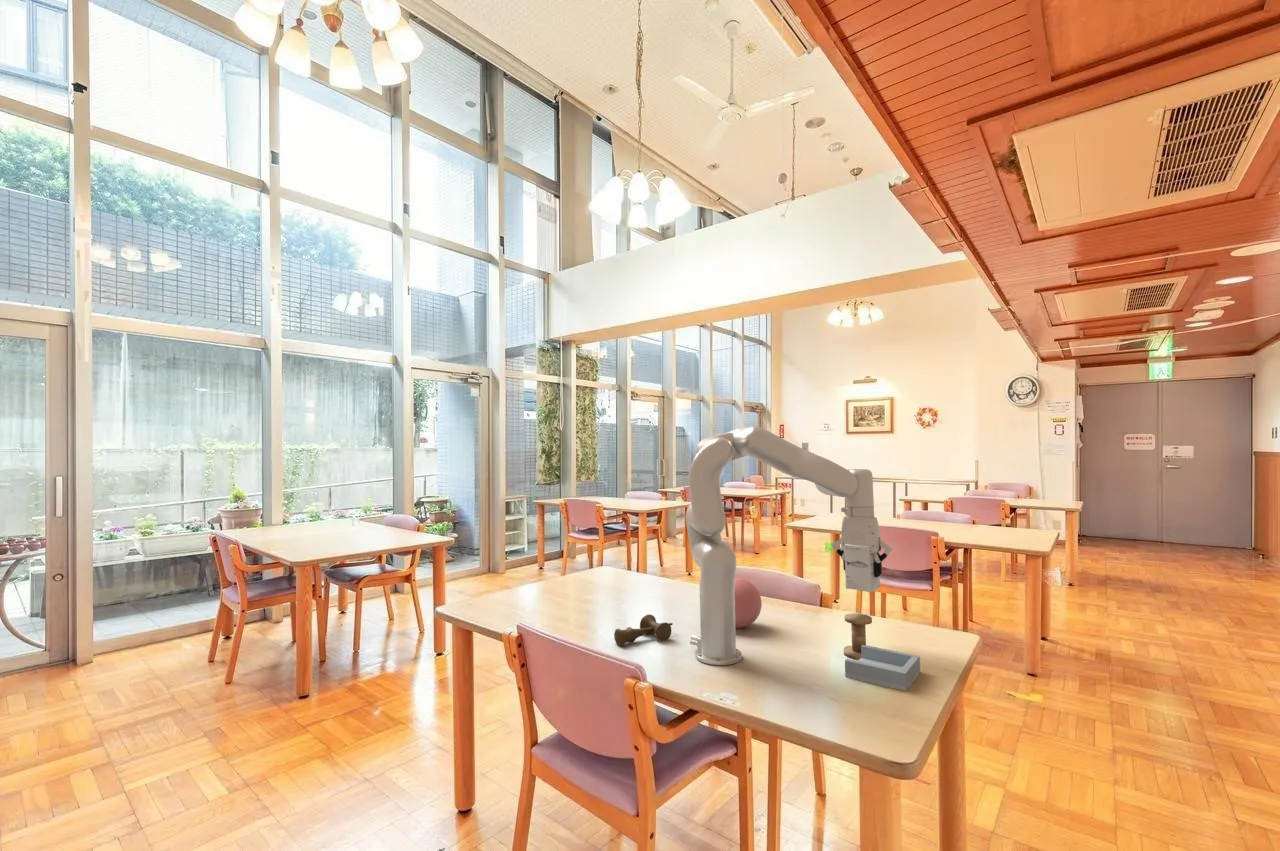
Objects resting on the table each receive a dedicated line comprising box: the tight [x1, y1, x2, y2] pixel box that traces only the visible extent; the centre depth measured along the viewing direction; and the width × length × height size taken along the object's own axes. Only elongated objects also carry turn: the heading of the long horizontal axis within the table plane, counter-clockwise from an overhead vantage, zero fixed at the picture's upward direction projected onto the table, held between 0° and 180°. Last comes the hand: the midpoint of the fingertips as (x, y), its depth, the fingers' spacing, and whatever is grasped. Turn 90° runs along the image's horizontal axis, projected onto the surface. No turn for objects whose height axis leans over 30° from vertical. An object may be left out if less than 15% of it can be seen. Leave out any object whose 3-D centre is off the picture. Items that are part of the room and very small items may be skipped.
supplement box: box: [844, 544, 881, 593], centre depth 162 cm, size 7×7×13 cm
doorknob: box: [843, 612, 873, 660], centre depth 156 cm, size 8×8×10 cm
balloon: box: [735, 577, 763, 629], centre depth 184 cm, size 15×20×15 cm
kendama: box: [613, 614, 673, 648], centre depth 171 cm, size 6×10×20 cm
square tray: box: [844, 644, 921, 692], centre depth 142 cm, size 14×14×4 cm
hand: (862, 574), depth 162 cm, fingers closed on supplement box, 7 cm apart
